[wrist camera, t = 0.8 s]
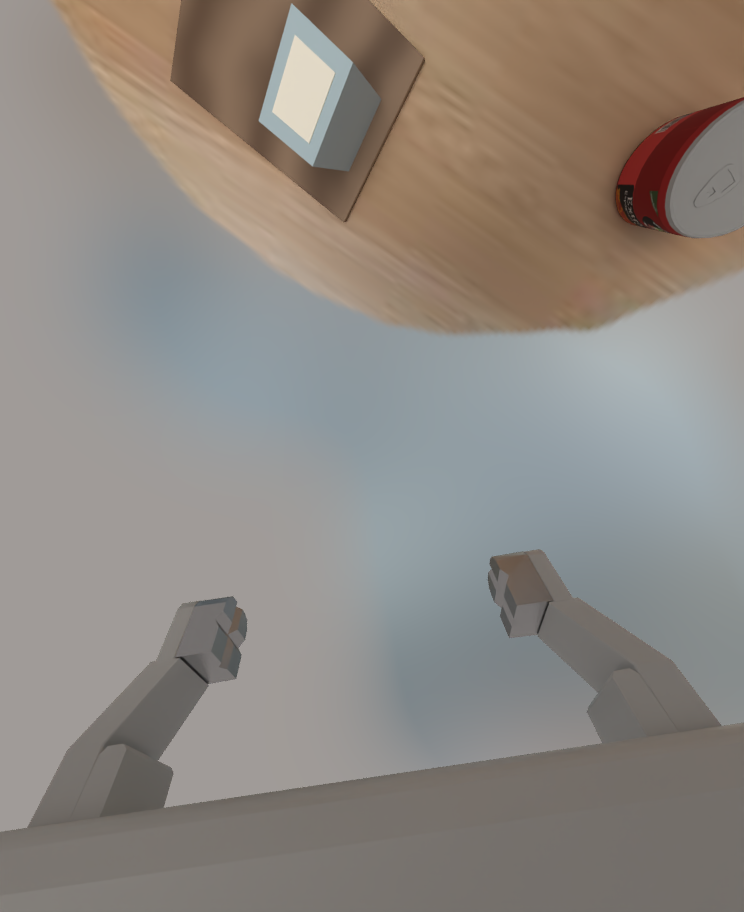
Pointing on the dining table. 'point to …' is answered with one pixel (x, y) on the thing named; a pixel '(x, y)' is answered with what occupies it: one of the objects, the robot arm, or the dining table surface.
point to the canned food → (688, 175)
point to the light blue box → (317, 97)
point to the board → (250, 68)
